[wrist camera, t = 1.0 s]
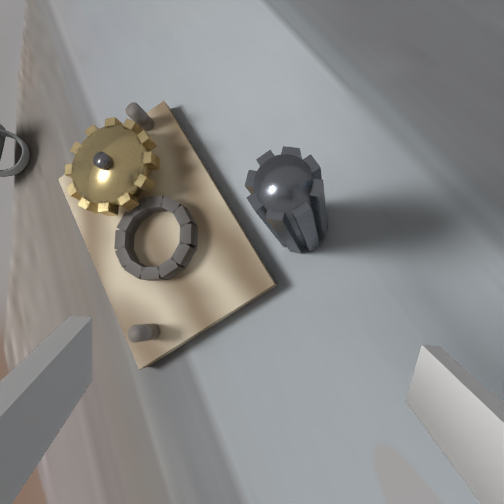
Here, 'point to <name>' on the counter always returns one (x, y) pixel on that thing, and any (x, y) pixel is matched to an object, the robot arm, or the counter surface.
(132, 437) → the counter surface
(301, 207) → the pinion
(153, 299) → the board
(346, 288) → the counter surface
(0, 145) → the ceramic mug
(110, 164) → the gear
